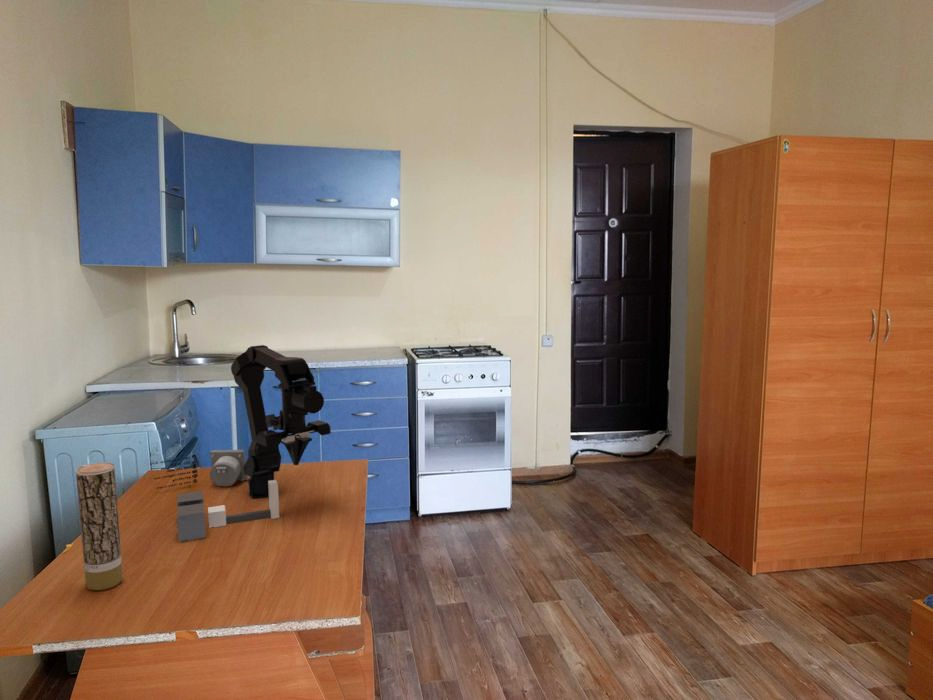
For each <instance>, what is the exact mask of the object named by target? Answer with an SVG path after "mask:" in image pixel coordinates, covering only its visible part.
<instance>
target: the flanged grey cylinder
mask: <svg viewBox="0 0 933 700" xmlns="http://www.w3.org/2000/svg"><path fill="white" fill-rule="evenodd" d="M209 457H210V462H211V468H210V471H209V477H210V480H211V482H213V484H215V485H216V486H218V487H220V486H229V487H231V486H233V485H234V484H235V483H236V482H237V481H236V480H240V481H239V482H246V481H245V480H247V481H248V478H249V476H247V475H245V473H244V469H243V467H244V465H245V463H246V461H247V459H246V453H245V449H213V450H211V451H209ZM196 458H197V455H196V454H192V455H191V459H193V461H192V462H191V463H192V469H193V470H192V472H191V473H192V477H191V476H185V477H184V479H186V480H189V479H192V478H193V479H194V480H192V483H193V484H196V483H198V479H196V478H197V477H199V475H198V474H197V473H198V469H197V466H196V465H197V464H196ZM188 459H190V457H188V456H186V457H185V460H188ZM181 460H184V457H181ZM174 461H175V462H177V461H180V458H178V459H177V458H174V459H171V460H169V459H168V460H161V461H160V464H166V463H171V462H174ZM158 463H159V462H158V461H155V462H151V463H149V465H150V466H152V465H155V464H156V465H158ZM191 463H190V461H189V460H188V461H187V462H186V461H184V462H183V464H184V465H188V464H191ZM177 465H179V466H182V462H179V463H173V464H171V465H170V466H171V467H174V466H175V467H176V466H177ZM183 469H184V470H187V469H191V466H189V465H188V466H184V467H183V468H181V467H179V468H176V472H177V471H181V470H183ZM166 472H167V473H171V472H175V468H174V469H167V470H166ZM186 474H189V472H184V471H182V472H180V473H176V474H175V473H174V474H169V475H164V476H163V479H165V478H173V477H175V476H182V475H186ZM153 479H154V480H160V479H162V476H161V477H160V476H159V477H153ZM178 480H179V481H181V480H183V477H179V478H178ZM175 481H177V478H175V479H172V482H173V483H174V484H169V485H168V488H170V487H175V486H178V485H179V486H180V485H181V486H182V485H183V484H184V485H186V484H189V485H187V486H185V489H186V488H188V487H189V488H191V486H192V485H191V481H184V482H181V483H178V484H177V483H176V484H175ZM164 488H165V489H166V488H167V485H164V486H158V487H157V490H159V489H164Z"/></svg>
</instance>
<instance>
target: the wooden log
mask: <svg viewBox="0 0 933 700" xmlns="http://www.w3.org/2000/svg"><path fill="white" fill-rule="evenodd" d="M75 477H76V478H75V479H76V489H77V500H78V511H79V522H80V533H81V534H80V536H81V544H82V555H83V556H82V557H83V566H84V567H83V568H84V579H85V587H86V588H87V589H89V590H90V591H91V590H92V591H104V590H110V589H112V588H113V587H114V588H115V587H116V586H118V585H119V584H120V583H122V581H123V578H124V575H123V563H122V561H123V558H122V549H121V548H122V547H121V546H122V545H121V535H120V525H119V524H120V522H119V521H120V520H119V509H118V508H119V507H118V495H117V485H116V483H117V482H116V472H115V464H114V463H111V462H96V463H95V462H94V463H88V464H85V465H82V466H79V467H78V468H76V470H75Z"/></svg>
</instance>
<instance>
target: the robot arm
mask: <svg viewBox="0 0 933 700" xmlns="http://www.w3.org/2000/svg"><path fill="white" fill-rule="evenodd" d="M230 366H231V367H230V370H231V372H230V373H232V376H233V379H234V382H235V384H236V385H237V386H238V387H239V388H240V389H241V390H242V393H243V398H244V404H245V408H246V416H247V420H248V427H249V432H250V437H251V442H250V445H249V448H248V450H247V454H248V458H247V459H246V463H245V465H244V467H243V469H244V473H245V475H247V476H248V479H247V482H248V493H249V495H250V496H251V498H252V499H256V498H257V499H258V498H265V497H266V498H267V497H269V489H268V481H270V480H275V472H280V469H281V464H282V463H281V462H282V454H281V452H280V448H279V447H280V446H279V445H281V444H282V445H283V446H285V448H286V450H287V452H288V454H289V457H290V459H291V462H292V464H293V465H294V466H298V465H299V464H300V461H301V459H302V457H303V455H304V453H305V450H306V448H307V446H308V445H309V443H310V442H312V441H313V438H311V437H310V434H314V433H318V434H319V435H320V436H326V435H330V434H331V433H332V432H331V431H332V429H331V427H332V426H331V425H330V424H329V423H328V422H325V421H324V420H314V421H309V422H307V424H306V416H308V415H309V414H317V413H319V412H320V411H321V410H322V408H323V407H324V404H325V398H324V396H323V394H322V393H321V392H320V391H319V390H317V386H316V382H315V377H314V374H313V373H312V370H310V369H311V368H310V367H309V364H308V363H307V361H306V360H305V359H304V358H303V357H298V356H296V357H295V356H285V355H283V354H281V353H279V352H277V351H276V350H273V349H271V348H269V347H268V346H267V345H264V344H261V345H253V346H252V345H251V346H249V347H248V348H247V349H246V350H245V352H243V353H241V354H240V355H238V356H236V357H235V359H234V360H233V362H232V364H231V365H230ZM266 369H269V370H271V371H273V372H274V377H275V378H276V379H277V380H279V382H280V383H279V384H278V386H277V387H278V389H281V405H282V406H281V408H282V409H280V410H279V415H278V416H276V415H275V414H274V413H273V414H267V415H266V411H265V405H264V399H263V393H262V388H261V386H262V384H263V381H264V378H265V370H266ZM269 428H272V429H273V430H272V429H269ZM277 430H278V431H277Z"/></svg>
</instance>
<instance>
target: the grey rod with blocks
mask: <svg viewBox="0 0 933 700" xmlns="http://www.w3.org/2000/svg"><path fill="white" fill-rule="evenodd" d="M268 489H269V496H268V506H269V509H263V510H255V511H249V512H242V513H236V514H235V513H234V514H226V506H225V505H224V504H223V505H216V506H209V507H207V514H208V528H209V529H211V527H214V528H219V527H220V526H221V527H225V526H227V525H228V524H235V523H242V522H249V521H255V520H261V519H262V520H263V519H268V518H269V519H271V520H274V519H280V503H279V483H278V482H277V479H274V480H270V481H268Z"/></svg>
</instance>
